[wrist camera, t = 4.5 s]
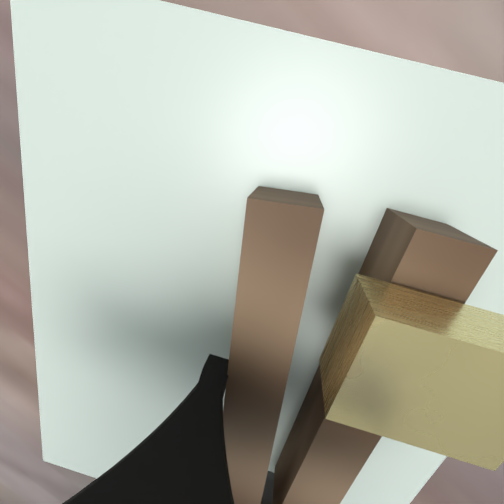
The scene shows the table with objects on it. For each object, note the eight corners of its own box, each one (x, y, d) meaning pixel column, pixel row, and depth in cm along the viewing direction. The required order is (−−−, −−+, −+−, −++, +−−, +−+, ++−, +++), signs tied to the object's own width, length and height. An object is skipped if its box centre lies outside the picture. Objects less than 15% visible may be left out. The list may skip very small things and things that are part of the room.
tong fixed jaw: (292, 517, 16) (291, 596, 13) (227, 496, 16) (212, 570, 13) (447, 224, 9) (512, 258, 6) (333, 193, 9) (348, 213, 7)
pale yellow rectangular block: (451, 399, 8) (494, 471, 7) (319, 359, 9) (325, 418, 7) (509, 316, 7) (582, 375, 5) (356, 273, 7) (375, 315, 6)
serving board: (356, 543, 17) (360, 566, 16) (55, 444, 18) (43, 460, 17) (658, 132, 8) (703, 130, 7) (36, -19, 9) (7, -37, 8)
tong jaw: (262, 468, 14) (256, 523, 12) (223, 459, 15) (211, 512, 12) (318, 194, 9) (324, 209, 7) (258, 186, 9) (247, 197, 7)
